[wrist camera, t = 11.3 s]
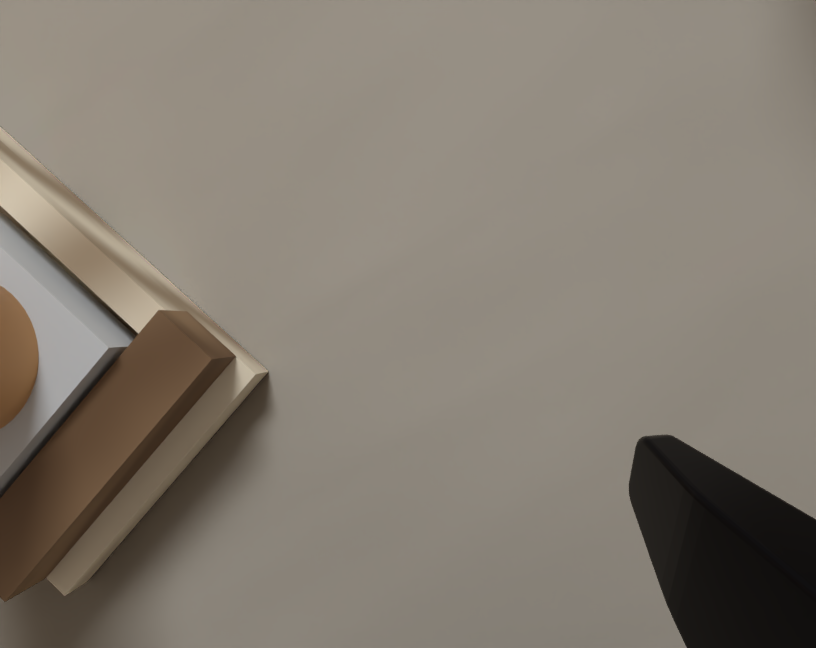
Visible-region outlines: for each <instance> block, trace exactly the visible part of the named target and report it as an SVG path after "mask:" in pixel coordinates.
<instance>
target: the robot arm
mask: <svg viewBox="0 0 816 648" xmlns="http://www.w3.org/2000/svg"><path fill="white" fill-rule="evenodd" d="M629 496H630V500H631V504H632V507H633V509H634V512H635V515H636V518H637V521H638V524H639V527H640V530H641V532H642V535H643V538H644V541H645V544H646V547H647V550H648V553H649V556H650V558H651V561H652V564H653V567H654V570H655V573H656V576H657V579H658V581H659V584H660V587H661V590H662V593H663V595H664V598H665V601H666V603H667V606H668V608H669V610H670V612H671V615H672V617H673V619H674V621H675V624H676V626H677V628H678V630H679V632H680V634H681V636H682V638H683V641H684V643H685V645H686V647H687V648H816V519H814V518H813V517H811V516H809V515H807V514H806V513H804V512H802V511H801V510H799V509H797V508H795V507H794V506H792V505H790V504H789V503H787V502H785V501H783V500H782V499H780V498H778V497H777V496H775V495H773V494H771V493H770V492H768V491H766V490H765V489H763V488H761V487H759V486H758V485H756V484H754V483H753V482H751V481H749V480H747V479H746V478H744V477H742V476H741V475H739V474H737V473H735V472H734V471H732V470H730V469H729V468H727V467H725V466H723V465H722V464H720V463H718V462H717V461H715V460H713V459H711V458H710V457H708V456H706V455H705V454H703V453H701V452H699V451H698V450H696V449H694V448H693V447H691V446H689V445H687V444H686V443H684V442H682V441H681V440H679V439H677V438H675V437H673V436H671V435H655V436H644V437H642V438H640V439H639V440H638V442H637V445H636V448H635V454H634V459H633V464H632V470H631V475H630V481H629Z"/></svg>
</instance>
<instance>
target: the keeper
mask: <svg viewBox="0 0 816 648" xmlns="http://www.w3.org/2000/svg"><path fill="white" fill-rule="evenodd" d="M135 337H136V336H135V335H134V334H133V333H132V332H131V331H130V330H129V329H128V328H127V327H125V326H124V325H123V324H122V323H121V322H120V321H119V320H118V319H117V318H116V317H115V316H114V315H113V314H111V313H110V312H109V311H108V310H107V309H106V308H105V307H104V306H103V305H102V304H101V303H100V302H98V301H97V300H96V299H95V298H94V297H93V296H92V295H91V294H90V293H89V292H88V291H87V290H86V289H84V288H83V287H82V286H81V285H80V284H79V283H78V282H77V281H76V280H75V279H74V278H73V277H72V276H70V275H69V274H68V273H67V272H66V271H65V270H64V269H63V268H62V267H61V266H60V265H59V264H58V263H56V262H55V261H54V260H53V259H52V258H51V257H50V256H49V255H48V254H47V253H46V252H45V251H44V250H42V249H41V248H40V247H39V246H38V245H37V244H36V243H35V242H34V241H33V240H32V239H31V238H29V237H28V236H27V235H26V234H25V233H24V232H23V231H22V230H21V229H20V228H19V227H18V226H17V225H15V224H14V223H13V222H12V221H11V220H10V219H9V218H8V217H7V216H6V215H5V214H4V213H0V498H1V497H2V496H3V494H4V493H5V492H6V491H7V490H8V488H9V487H10V486H11V485H12V484H13V483H14V481H15V480H16V479H17V478H18V477H19V475H20V474H21V473H22V472H23V471H24V469H25V468H26V467H27V466H28V465H29V463H30V462H31V461H32V460H33V459H34V458H35V456H36V455H37V454H38V453H39V452H40V450H41V449H42V448H43V447H44V446H45V444H46V443H47V442H48V441H49V440H50V438H51V437H52V436H53V435H54V434H55V433H56V431H57V430H58V429H59V428H60V427H61V425H62V424H63V423H64V422H65V421H66V419H67V418H68V417H69V416H70V415H71V413H72V412H73V411H74V410H75V409H76V408H77V406H78V405H79V404H80V403H81V402H82V400H83V399H84V398H85V397H86V396H87V394H88V393H89V392H90V391H91V390H92V389H93V387H94V386H95V385H96V384H97V383H98V381H99V380H100V379H101V378H102V377H103V375H104V374H105V373H106V372H107V371H108V369H109V368H110V367H111V366H112V365H113V364H114V362H115V361H116V360H117V359H118V358H119V356H120V355H121V354H122V353H123V352H124V350H125V349H126V348H127V347H128V346H129V344H130V343H131V342H132V341H133V340H134V339H135Z"/></svg>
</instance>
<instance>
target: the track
mask: <svg viewBox="0 0 816 648" xmlns="http://www.w3.org/2000/svg"><path fill="white" fill-rule="evenodd" d="M0 213H4V214H5V215H6V216H7V217H8V218H9V219H10V220H11V221H12V222H13V223H14V224H15V225H17V226H18V227H19V228H20V229H21V230H22V231H23V232H24V233H25V234H26V235H27V236H28V237H29V238H31V239H32V240H33V241H34V242H35V243H36V244H37V245H38V246H39V247H40V248H41V249H42V250H44V251H45V252H46V253H47V254H48V255H49V256H50V257H51V258H52V259H53V260H54V261H55V262H56V263H58V264H59V265H60V266H61V267H62V268H63V269H64V270H65V271H66V272H67V273H68V274H69V275H70V276H72V277H73V278H74V279H75V280H76V281H77V282H78V283H79V284H80V285H81V286H82V287H83V288H84V289H86V290H87V291H88V292H89V293H90V294H91V295H92V296H93V297H94V298H95V299H96V300H97V301H98V302H100V303H101V304H102V305H103V306H104V307H105V308H106V309H107V310H108V311H109V312H110V313H111V314H113V315H114V316H115V317H116V318H117V319H118V320H119V321H120V322H121V323H122V324H123V325H124V326H125V327H127V328H128V329H129V330H130V331H131V332H132V333H133V334H134V335H135V336H136V337H135V339H134V340H133V341H132V342H131V343H130V344H129V346H128V347H127V348H126V349H125V350H124V352H123V353H122V354H121V355H120V356H119V358H118V359H117V360H116V361H115V362H114V364H113V365H112V366H111V367H110V368H109V369H108V371H107V372H106V373H105V374H104V375H103V377H102V378H101V379H100V380H99V381H98V383H97V384H96V385H95V386H94V387H93V389H92V390H91V391H90V392H89V393H88V394H87V396H86V397H85V398H84V399H83V400H82V402H81V403H80V404H79V405H78V406H77V408H76V409H75V410H74V411H73V412H72V413H71V415H70V416H69V417H68V418H67V419H66V421H65V422H64V423H63V424H62V425H61V427H60V428H59V429H58V430H57V431H56V433H55V434H54V435H53V436H52V437H51V438H50V440H49V441H48V442H47V443H46V444H45V446H44V447H43V448H42V449H41V450H40V452H39V453H38V454H37V455H36V456H35V458H34V459H33V460H32V461H31V462H30V463H29V465H28V466H27V467H26V468H25V469H24V471H23V472H22V473H21V474H20V475H19V477H18V478H17V479H16V480H15V481H14V483H13V484H12V485H11V486H10V487H9V488H8V490H7V491H6V492H5V493H4V494H3V496H2V497H1V498H0V598H1V599H2V600H3V601H4V602H6V601H7V600H9V599H11V598H12V597H14V596H16V595H18V594H19V593H21V592H23V591H25V590H26V589H28V588H30V587H31V586H33V585H35V584H37V583H38V582H40V581H42V580H43V579H45V578H47V579H48V580H49V581H50V582H51V583H52V584H53V585H54V586H55V587H56V588H57V589H58V590H59V591H60V592H61V593H62V594H63V595H64V596H66V595H67V594H69V593H71V592H72V591H74V590H75V589H77V588H78V587H80V586H81V585H83V584H84V583H86V582H87V581H88V580H89V579H90V578H91V577H92V576H93V574H94V573H95V572H96V571H97V570H98V569H99V568H100V566H101V565H102V564H103V563H104V562H105V561H106V559H107V558H108V557H109V556H110V555H111V554H112V552H113V551H114V550H115V549H116V548H117V547H118V545H119V544H120V543H121V542H122V541H123V540H124V539H125V537H126V536H127V535H128V534H129V533H130V532H131V530H132V529H133V528H134V527H135V526H136V525H137V523H138V522H139V521H140V520H141V519H142V518H143V516H144V515H145V514H146V513H147V512H148V511H149V510H150V508H151V507H152V506H153V505H154V504H155V503H156V501H157V500H158V499H159V498H160V497H161V496H162V494H163V493H164V492H165V491H166V490H167V489H168V487H169V486H170V485H171V484H172V483H173V482H174V481H175V479H176V478H177V477H178V476H179V475H180V474H181V472H182V471H183V470H184V469H185V468H186V467H187V465H188V464H189V463H190V462H191V461H192V460H193V458H194V457H195V456H196V455H197V454H198V453H199V452H200V450H201V449H202V448H203V447H204V446H205V445H206V443H207V442H208V441H209V440H210V439H211V438H212V436H213V435H214V434H215V433H216V432H217V431H218V430H219V428H220V427H221V426H222V425H223V424H224V423H225V421H226V420H227V419H228V418H229V417H230V416H231V414H232V413H233V412H234V411H235V410H236V409H237V407H238V406H239V405H240V404H241V403H242V402H243V401H244V399H245V398H246V397H247V396H248V395H249V394H250V392H251V391H252V390H253V389H254V388H255V387H256V385H257V384H258V383H259V382H260V381H261V380H262V378H263V377H264V376H265V375H266V374H267V373H268V372H269V371H267V370H266V369H265V368H264V367H263V366H262V365H261V364H260V363H259V362H258V361H256V360H255V359H254V358H253V357H252V356H251V355H250V354H249V353H248V352H247V351H246V350H244V349H243V348H242V347H241V346H240V345H239V344H238V343H237V342H236V341H235V340H233V339H232V338H231V337H230V336H229V335H228V334H227V333H226V332H225V331H224V330H223V329H221V328H220V327H219V326H218V325H217V324H216V323H215V322H214V321H213V320H212V319H210V318H209V317H208V316H207V315H206V314H205V313H204V312H203V311H202V310H201V309H200V308H198V307H197V306H196V305H195V304H194V303H193V302H192V301H191V300H190V299H189V298H188V297H186V296H185V295H184V294H183V293H182V292H181V291H180V290H179V289H178V288H177V287H175V286H174V285H173V284H172V283H171V282H170V281H169V280H168V279H167V278H166V277H165V276H163V275H162V274H161V273H160V272H159V271H158V270H157V269H156V268H155V267H154V266H152V265H151V264H150V263H149V262H148V261H147V260H146V259H145V258H144V257H143V256H142V255H140V254H139V253H138V252H137V251H136V250H135V249H134V248H133V247H132V246H131V245H129V244H128V243H127V242H126V241H125V240H124V239H123V238H122V237H121V236H120V235H119V234H117V233H116V232H115V231H114V230H113V229H112V228H111V227H110V226H109V225H108V224H106V223H105V222H104V221H103V220H102V219H101V218H100V217H99V216H98V215H97V214H96V213H94V212H93V211H92V210H91V209H90V208H89V207H88V206H87V205H86V204H85V203H83V202H82V201H81V200H80V199H79V198H78V197H77V196H76V195H75V194H74V193H73V192H71V191H70V190H69V189H68V188H67V187H66V186H65V185H64V184H63V183H62V182H60V181H59V180H58V179H57V178H56V177H55V176H54V175H53V174H52V173H51V172H50V171H48V170H47V169H46V168H45V167H44V166H43V165H42V164H41V163H40V162H39V161H37V160H36V159H35V158H34V157H33V156H32V155H31V154H30V153H29V152H28V151H27V150H25V149H24V148H23V147H22V146H21V145H20V144H19V143H18V142H17V141H16V140H14V139H13V138H12V137H11V136H10V135H9V134H8V133H7V132H6V131H5V130H4V129H2V128H1V127H0Z"/></svg>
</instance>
